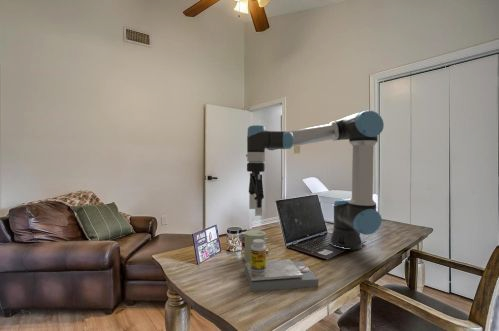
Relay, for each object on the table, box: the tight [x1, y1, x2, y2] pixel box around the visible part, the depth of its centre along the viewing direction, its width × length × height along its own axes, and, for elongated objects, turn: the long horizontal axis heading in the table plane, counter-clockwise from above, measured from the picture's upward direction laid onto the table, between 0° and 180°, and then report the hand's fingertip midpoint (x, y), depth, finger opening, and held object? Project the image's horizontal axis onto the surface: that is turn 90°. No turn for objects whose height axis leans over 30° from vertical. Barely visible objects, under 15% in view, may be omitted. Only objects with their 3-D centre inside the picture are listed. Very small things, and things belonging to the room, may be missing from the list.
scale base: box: [244, 261, 319, 292], centre depth 91 cm, size 23×15×3 cm, turn 100°
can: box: [243, 229, 266, 262], centre depth 108 cm, size 9×9×12 cm
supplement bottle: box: [250, 239, 267, 272], centre depth 89 cm, size 6×6×10 cm
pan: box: [244, 259, 303, 281], centre depth 90 cm, size 18×13×1 cm
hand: (255, 212), depth 107 cm, fingers open, 13 cm apart
